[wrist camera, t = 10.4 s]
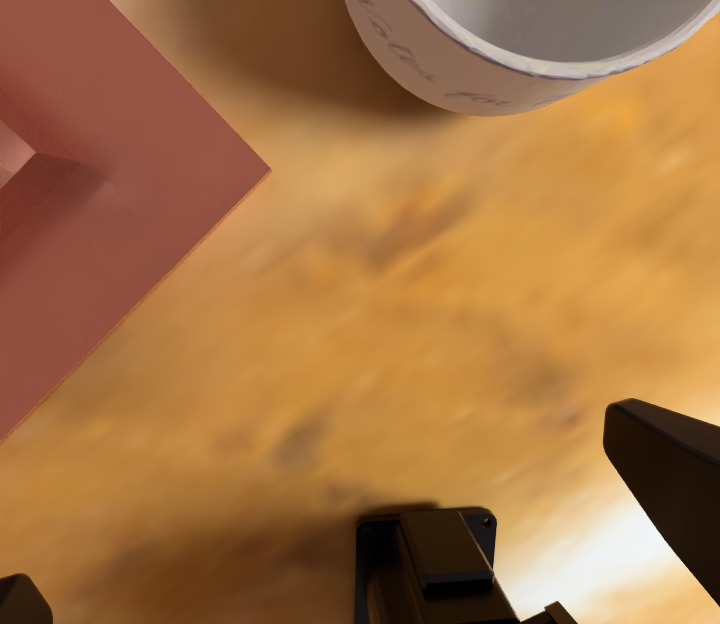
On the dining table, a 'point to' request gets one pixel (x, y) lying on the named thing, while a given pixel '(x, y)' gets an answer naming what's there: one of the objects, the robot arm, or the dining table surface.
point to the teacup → (518, 46)
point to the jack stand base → (95, 185)
